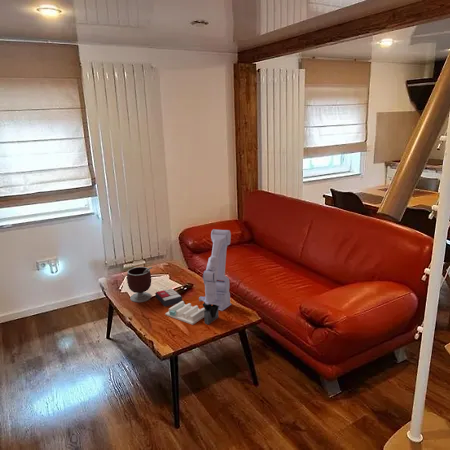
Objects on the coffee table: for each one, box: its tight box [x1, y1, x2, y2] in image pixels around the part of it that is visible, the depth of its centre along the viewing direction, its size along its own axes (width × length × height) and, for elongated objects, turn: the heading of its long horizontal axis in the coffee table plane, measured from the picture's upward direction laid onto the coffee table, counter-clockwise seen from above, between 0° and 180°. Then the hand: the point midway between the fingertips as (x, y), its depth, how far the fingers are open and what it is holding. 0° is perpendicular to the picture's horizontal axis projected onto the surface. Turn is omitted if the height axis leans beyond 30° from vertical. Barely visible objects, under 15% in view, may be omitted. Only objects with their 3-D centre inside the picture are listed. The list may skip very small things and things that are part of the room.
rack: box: [164, 300, 205, 326], centre depth 210 cm, size 14×19×4 cm
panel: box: [203, 308, 220, 325], centre depth 202 cm, size 9×2×7 cm, turn 145°
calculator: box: [155, 288, 183, 307], centre depth 228 cm, size 11×4×15 cm
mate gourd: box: [126, 266, 153, 303], centre depth 228 cm, size 16×14×20 cm
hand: (211, 316), depth 203 cm, fingers closed on panel, 2 cm apart
